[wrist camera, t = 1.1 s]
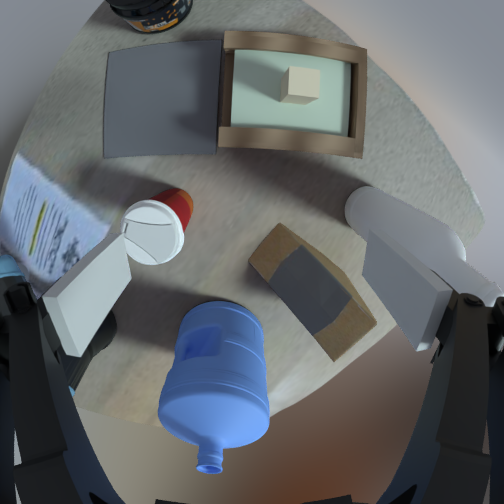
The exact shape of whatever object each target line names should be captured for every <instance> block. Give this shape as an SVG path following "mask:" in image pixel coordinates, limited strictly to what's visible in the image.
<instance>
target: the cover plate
mask: <svg viewBox="0 0 504 504" xmlns="http://www.w3.org/2000/svg"><path fill="white" fill-rule="evenodd" d="M350 79H351V63H347V62H343V61H338V60H333V59H327V58H321V57H315V56H308V55H301V54H293V53H284V52H273V51H258V50H235V58H234V74H233V91H232V111H231V127H248V128H267V129H281V130H293V131H303V132H312V133H321V134H328V135H336V136H342V137H348V123H349V106H350Z"/></svg>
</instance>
